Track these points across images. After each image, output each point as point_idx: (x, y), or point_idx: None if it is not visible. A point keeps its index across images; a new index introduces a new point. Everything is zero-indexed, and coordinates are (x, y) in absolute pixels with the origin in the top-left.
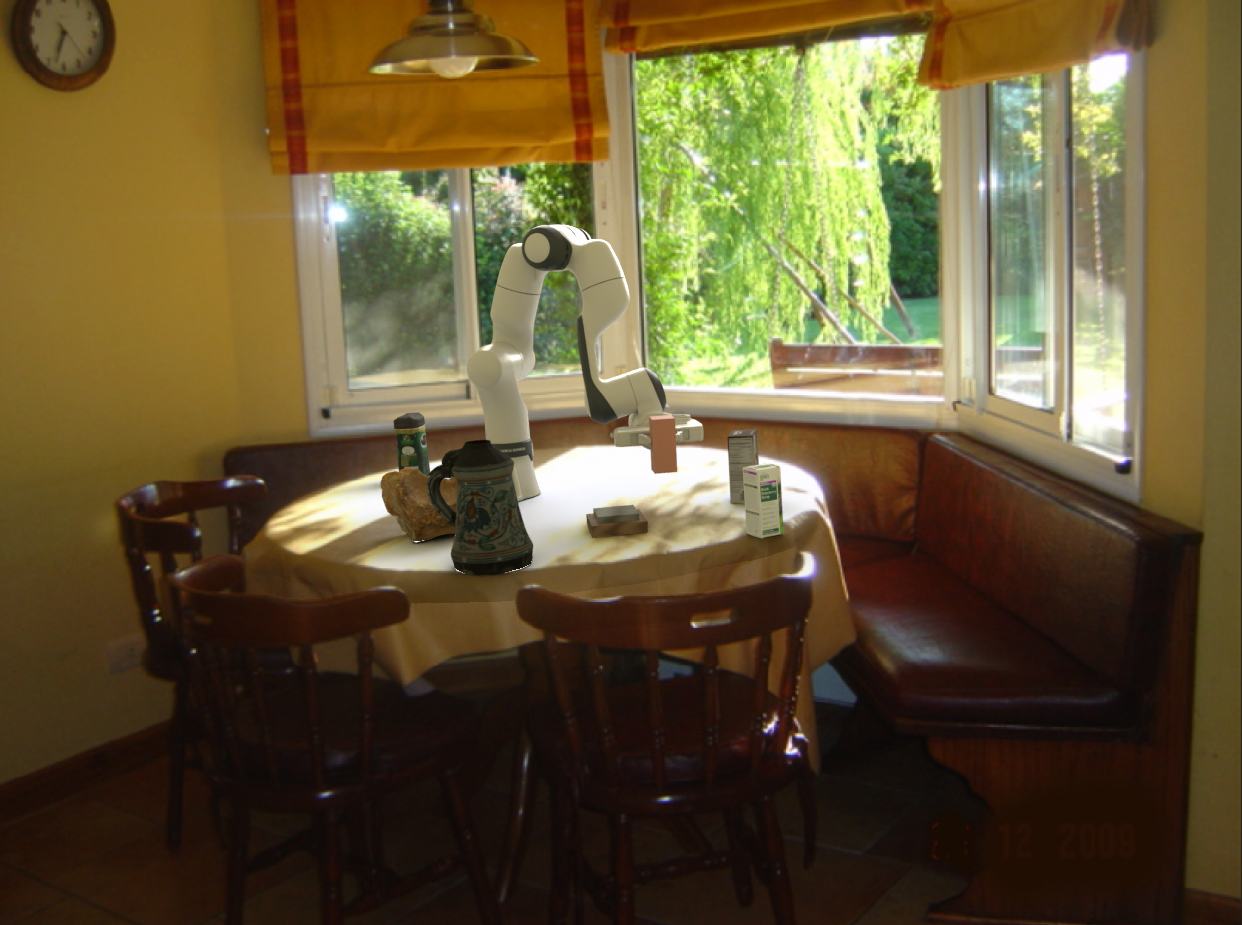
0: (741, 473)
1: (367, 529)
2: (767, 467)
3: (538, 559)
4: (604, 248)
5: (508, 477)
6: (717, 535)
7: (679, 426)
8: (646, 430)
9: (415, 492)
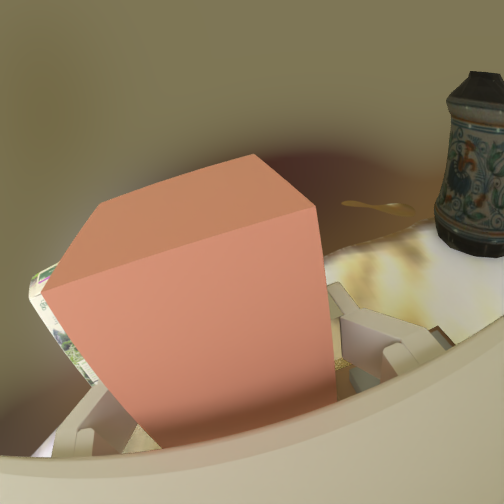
0: None
1: None
2: (50, 267)
3: (444, 249)
4: None
5: (452, 118)
6: None
7: (33, 483)
8: (380, 384)
9: None
